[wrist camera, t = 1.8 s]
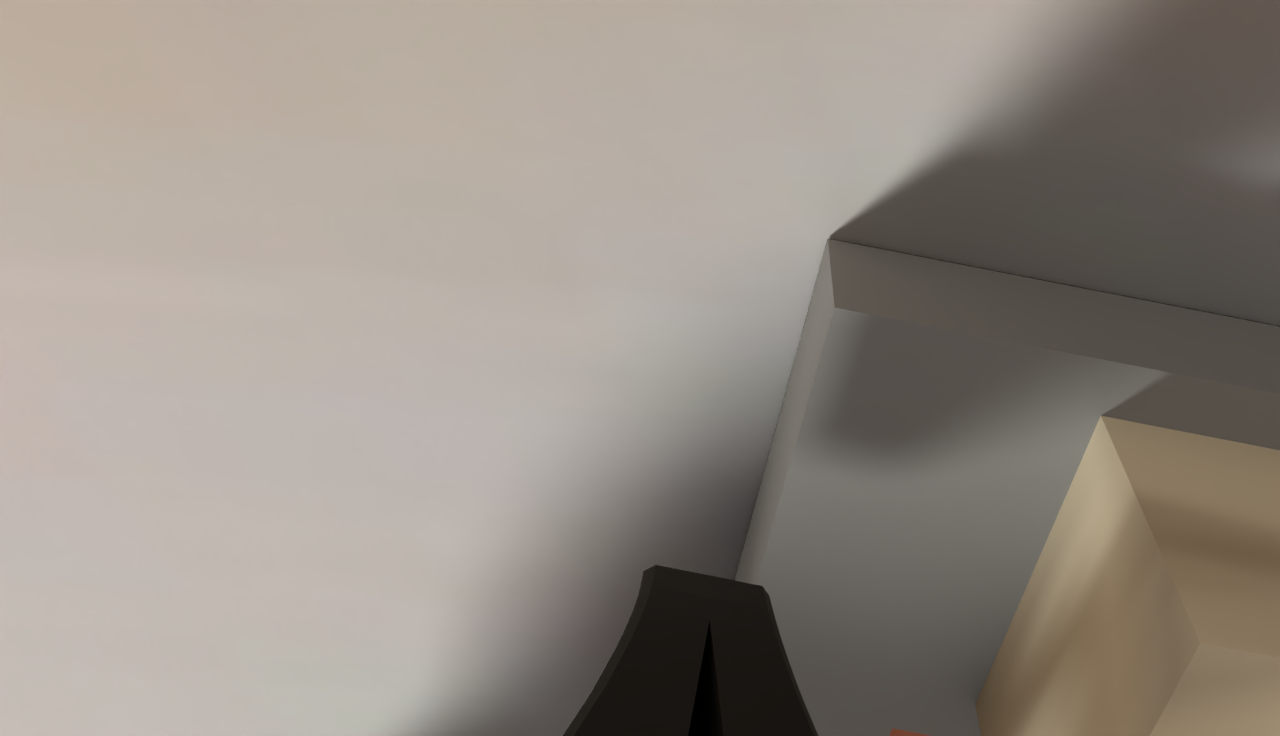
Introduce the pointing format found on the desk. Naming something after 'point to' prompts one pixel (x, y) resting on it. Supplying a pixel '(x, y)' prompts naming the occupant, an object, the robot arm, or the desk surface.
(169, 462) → the desk surface
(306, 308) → the desk surface
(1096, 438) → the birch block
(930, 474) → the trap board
